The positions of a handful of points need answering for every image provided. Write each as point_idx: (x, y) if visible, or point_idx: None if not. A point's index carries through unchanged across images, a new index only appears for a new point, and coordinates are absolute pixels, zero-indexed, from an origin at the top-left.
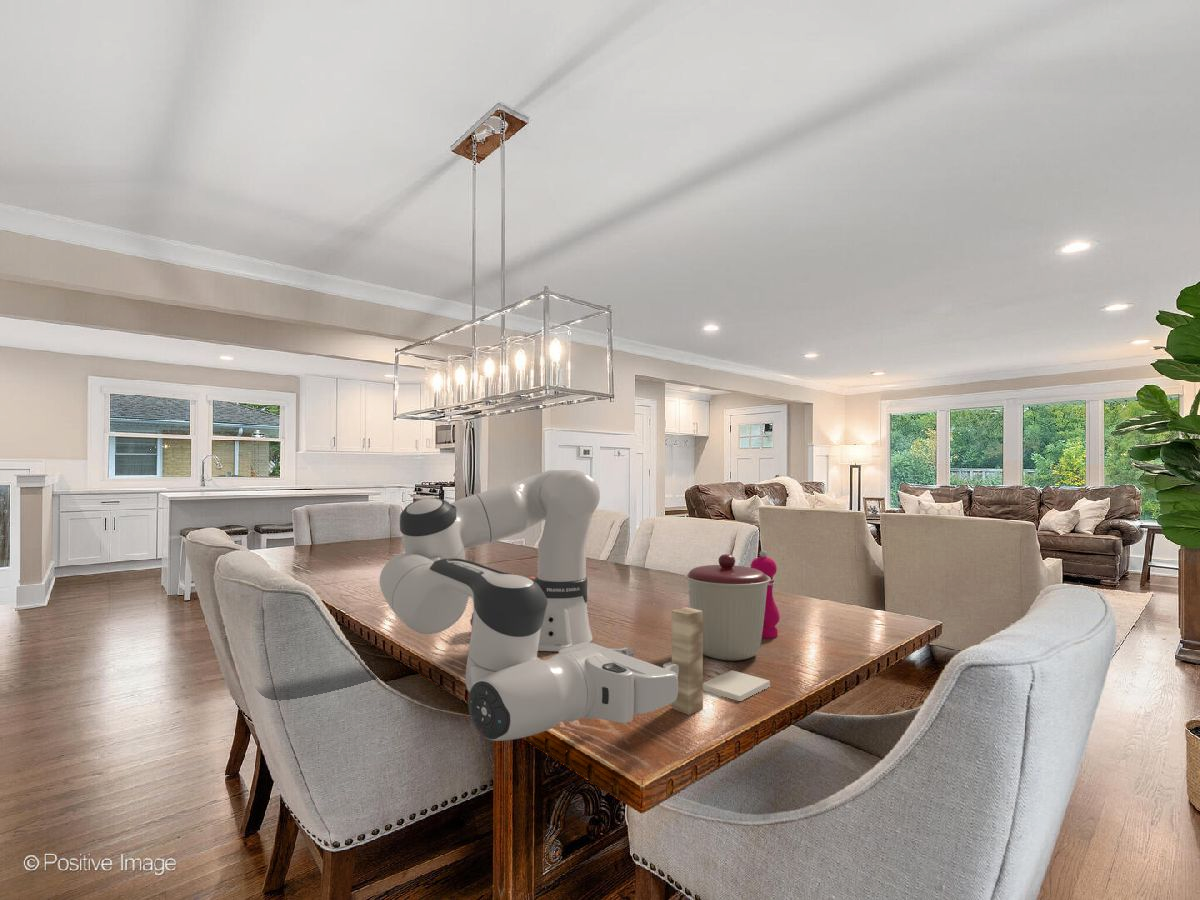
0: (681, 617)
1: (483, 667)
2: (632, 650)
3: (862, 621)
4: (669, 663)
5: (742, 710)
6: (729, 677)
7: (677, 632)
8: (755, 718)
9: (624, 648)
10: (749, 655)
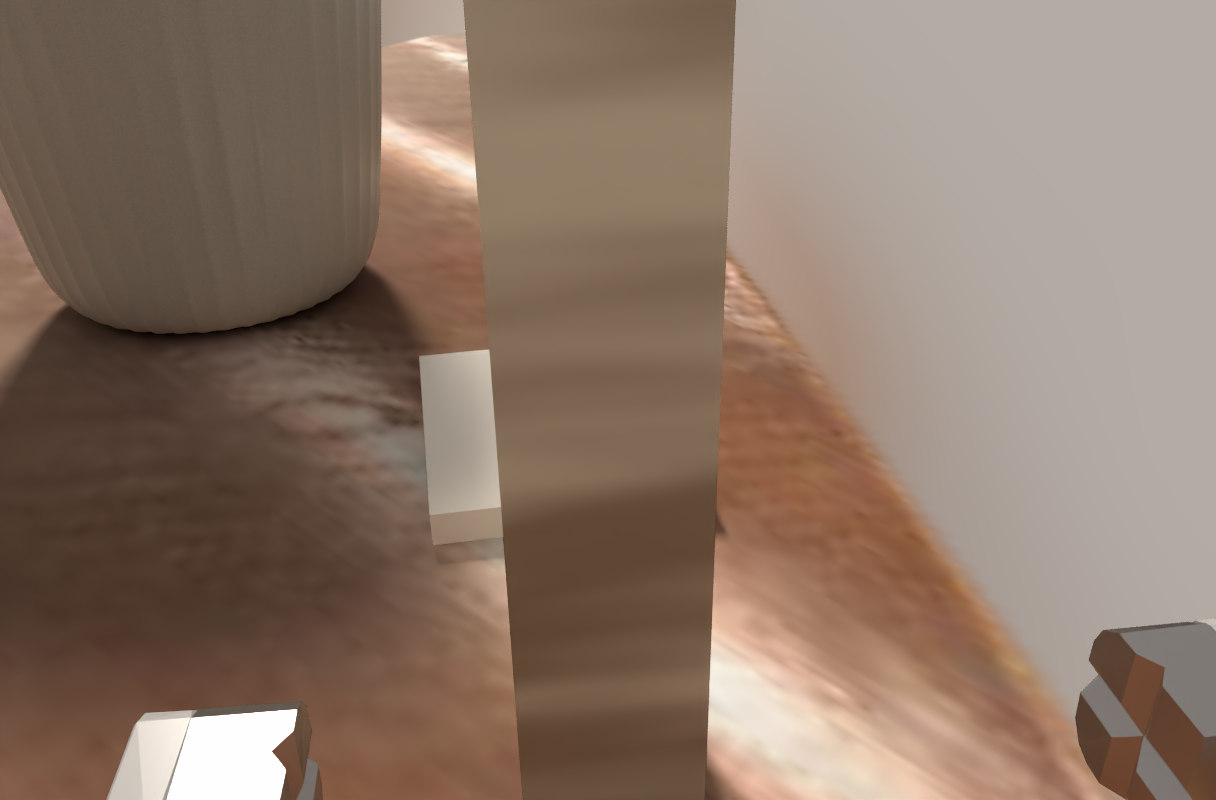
0: (625, 29)
1: None
2: (302, 720)
3: (419, 63)
4: (1187, 662)
5: (812, 558)
6: (479, 400)
7: (570, 219)
8: (940, 571)
9: (146, 772)
10: (365, 259)
